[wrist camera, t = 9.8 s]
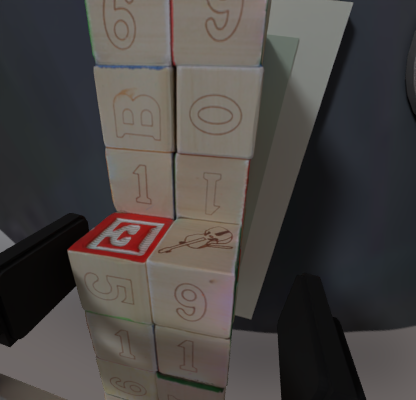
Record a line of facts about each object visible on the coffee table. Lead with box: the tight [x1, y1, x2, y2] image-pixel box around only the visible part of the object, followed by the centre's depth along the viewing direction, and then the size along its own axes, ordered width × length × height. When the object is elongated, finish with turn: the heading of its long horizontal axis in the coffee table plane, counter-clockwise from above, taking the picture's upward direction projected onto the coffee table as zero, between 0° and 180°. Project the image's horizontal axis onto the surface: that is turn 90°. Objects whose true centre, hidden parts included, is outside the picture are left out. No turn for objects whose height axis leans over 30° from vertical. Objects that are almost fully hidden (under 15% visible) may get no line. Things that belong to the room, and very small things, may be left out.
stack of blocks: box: [68, 0, 272, 400], centre depth 13 cm, size 21×6×12 cm, turn 177°
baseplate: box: [235, 0, 353, 319], centre depth 20 cm, size 13×27×1 cm, turn 171°
